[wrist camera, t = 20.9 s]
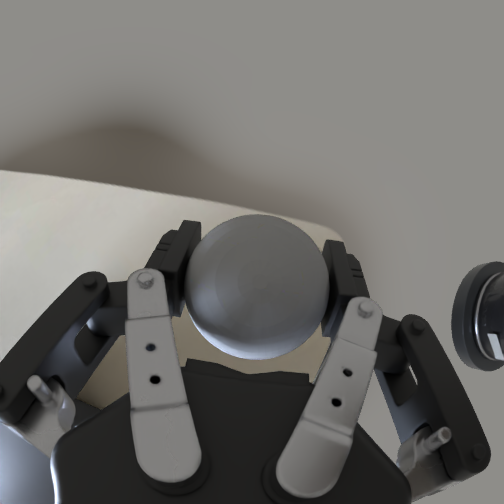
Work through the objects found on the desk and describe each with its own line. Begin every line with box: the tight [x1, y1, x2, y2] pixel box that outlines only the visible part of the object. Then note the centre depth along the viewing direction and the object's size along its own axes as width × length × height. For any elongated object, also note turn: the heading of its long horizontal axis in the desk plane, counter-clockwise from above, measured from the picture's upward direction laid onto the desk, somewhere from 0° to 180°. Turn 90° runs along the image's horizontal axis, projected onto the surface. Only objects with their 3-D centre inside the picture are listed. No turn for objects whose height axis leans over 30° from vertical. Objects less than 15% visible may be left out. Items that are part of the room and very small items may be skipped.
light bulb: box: [184, 214, 330, 360], centre depth 14 cm, size 6×6×10 cm
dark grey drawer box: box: [0, 422, 55, 504], centre depth 17 cm, size 15×13×10 cm
